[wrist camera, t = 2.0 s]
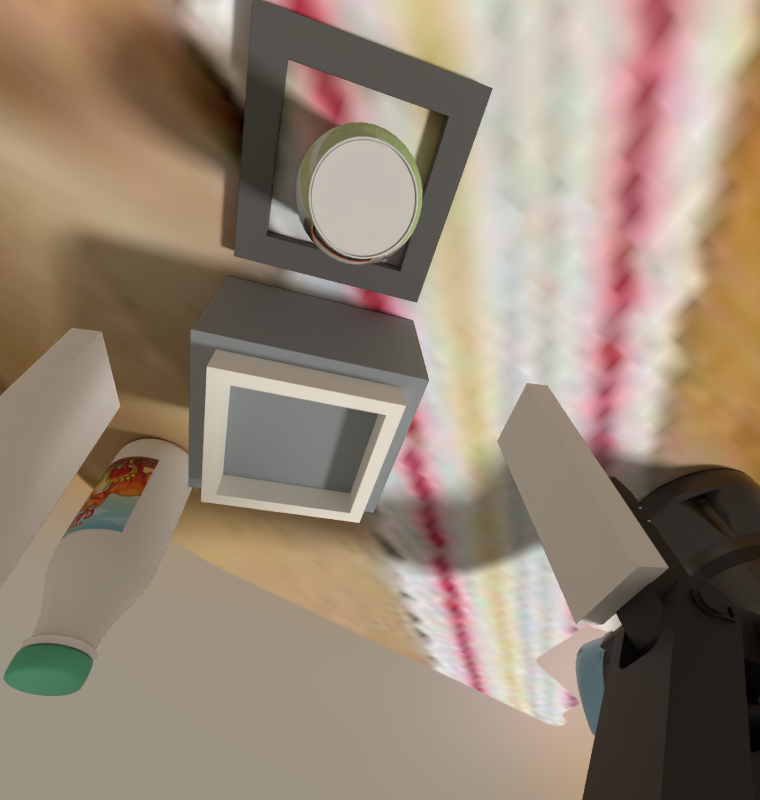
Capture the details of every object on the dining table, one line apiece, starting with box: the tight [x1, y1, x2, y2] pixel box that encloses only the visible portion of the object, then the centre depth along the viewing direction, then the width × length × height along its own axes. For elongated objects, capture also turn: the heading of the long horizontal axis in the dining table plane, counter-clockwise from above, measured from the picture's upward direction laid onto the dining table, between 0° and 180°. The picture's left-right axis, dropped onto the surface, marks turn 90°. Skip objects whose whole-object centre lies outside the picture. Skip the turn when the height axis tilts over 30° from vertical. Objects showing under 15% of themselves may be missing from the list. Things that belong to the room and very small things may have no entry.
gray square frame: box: [234, 0, 493, 302], centre depth 27 cm, size 14×14×1 cm
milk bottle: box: [4, 439, 192, 696], centre depth 35 cm, size 8×8×20 cm
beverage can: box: [295, 123, 423, 265], centre depth 23 cm, size 6×7×12 cm
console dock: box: [188, 276, 429, 523], centre depth 32 cm, size 15×14×11 cm
